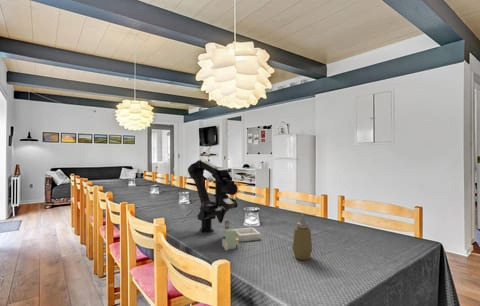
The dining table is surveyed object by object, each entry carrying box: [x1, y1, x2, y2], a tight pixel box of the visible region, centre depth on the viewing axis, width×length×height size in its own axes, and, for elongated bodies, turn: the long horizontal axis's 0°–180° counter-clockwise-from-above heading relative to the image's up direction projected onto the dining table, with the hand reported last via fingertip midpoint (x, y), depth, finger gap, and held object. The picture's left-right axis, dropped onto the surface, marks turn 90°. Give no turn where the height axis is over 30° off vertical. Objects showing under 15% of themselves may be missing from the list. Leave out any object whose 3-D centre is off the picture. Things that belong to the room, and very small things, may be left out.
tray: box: [234, 227, 262, 243], centre depth 140 cm, size 11×11×3 cm
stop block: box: [224, 228, 237, 250], centre depth 125 cm, size 4×4×8 cm
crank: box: [223, 218, 240, 246], centre depth 135 cm, size 22×3×6 cm, turn 17°
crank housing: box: [221, 238, 239, 251], centre depth 130 cm, size 14×10×3 cm
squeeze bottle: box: [292, 213, 313, 261], centre depth 114 cm, size 8×8×18 cm
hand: (220, 222), depth 142 cm, fingers closed
